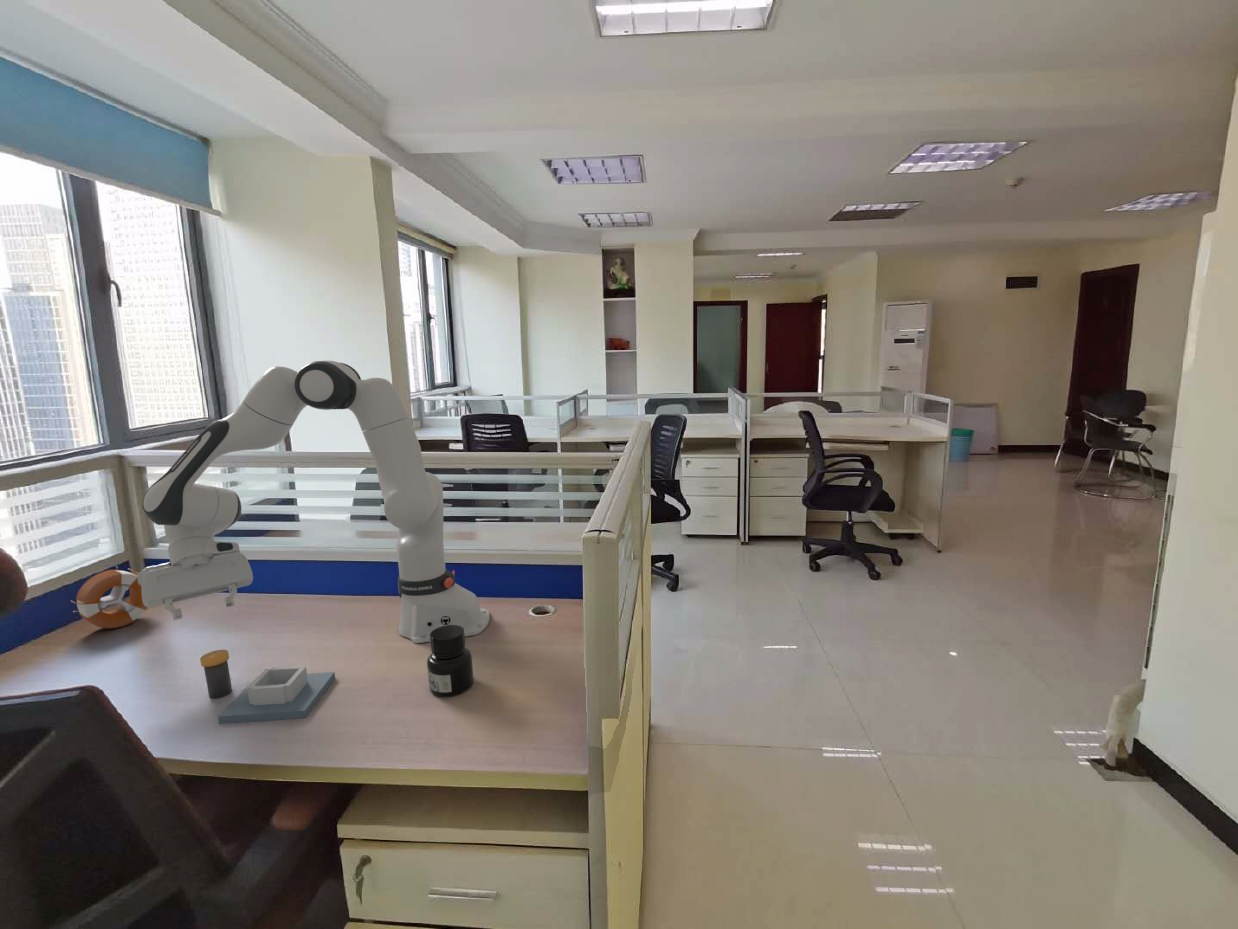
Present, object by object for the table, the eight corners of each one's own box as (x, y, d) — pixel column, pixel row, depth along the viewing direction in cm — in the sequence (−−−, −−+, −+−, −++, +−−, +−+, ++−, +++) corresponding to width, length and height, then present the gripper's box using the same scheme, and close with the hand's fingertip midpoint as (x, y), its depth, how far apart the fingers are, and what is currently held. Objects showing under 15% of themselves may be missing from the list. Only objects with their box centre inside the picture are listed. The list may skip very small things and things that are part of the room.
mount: (335, 678, 126) (332, 656, 125) (305, 717, 112) (302, 694, 111) (258, 683, 125) (254, 661, 124) (218, 723, 111) (214, 699, 110)
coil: (157, 616, 160) (148, 565, 157) (87, 639, 148) (75, 584, 145) (147, 611, 164) (137, 561, 161) (77, 633, 151) (65, 579, 149)
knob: (239, 686, 124) (233, 649, 122) (225, 699, 119) (219, 660, 118) (215, 687, 124) (209, 650, 122) (201, 700, 119) (194, 662, 117)
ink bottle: (422, 683, 123) (417, 630, 121) (462, 669, 128) (458, 618, 126) (439, 704, 115) (434, 648, 113) (481, 688, 120) (477, 634, 118)
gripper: (134, 562, 125) (142, 620, 119) (245, 541, 138) (258, 592, 132) (137, 576, 129) (146, 632, 124) (245, 554, 142) (257, 605, 136)
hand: (204, 611), depth 128 cm, fingers open, 8 cm apart
